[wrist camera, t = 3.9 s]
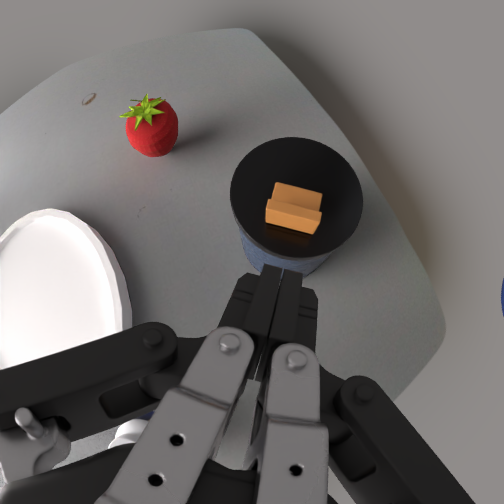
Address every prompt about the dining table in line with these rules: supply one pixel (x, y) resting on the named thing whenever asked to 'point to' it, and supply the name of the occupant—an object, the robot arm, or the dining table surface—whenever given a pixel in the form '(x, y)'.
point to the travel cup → (303, 176)
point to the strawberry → (152, 127)
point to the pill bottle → (131, 430)
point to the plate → (57, 287)
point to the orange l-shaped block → (294, 208)
